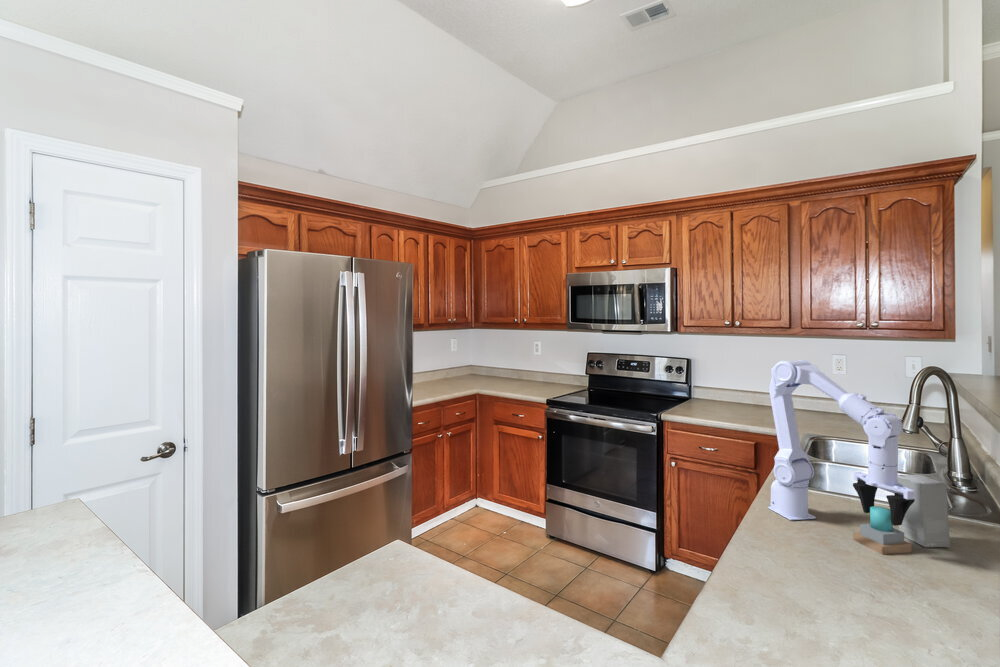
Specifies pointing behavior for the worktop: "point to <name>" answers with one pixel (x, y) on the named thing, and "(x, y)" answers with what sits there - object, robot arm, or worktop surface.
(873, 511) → the teal cylinder
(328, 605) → the worktop surface
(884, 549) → the walnut base slab
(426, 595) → the worktop surface
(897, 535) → the slate top slab
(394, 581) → the worktop surface
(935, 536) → the skincare box
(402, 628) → the worktop surface
